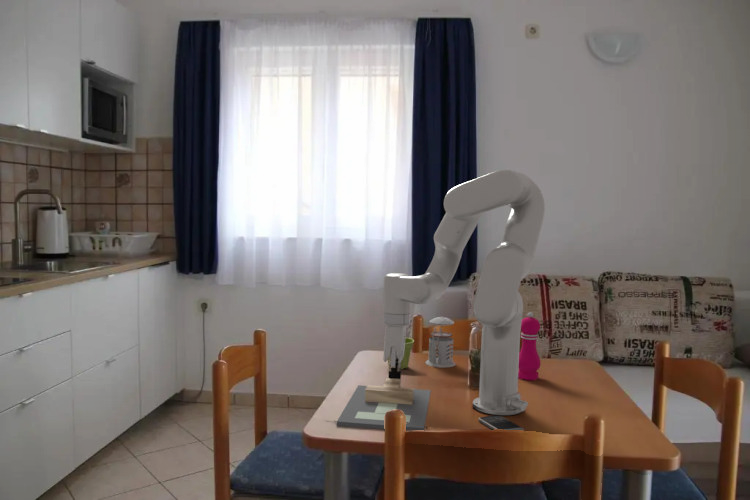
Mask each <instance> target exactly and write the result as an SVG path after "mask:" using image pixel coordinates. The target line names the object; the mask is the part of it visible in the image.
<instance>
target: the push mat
mask: <svg viewBox="0 0 750 500" xmlns="http://www.w3.org/2000/svg"><path fill="white" fill-rule="evenodd" d="M366 387H367V385H361V384H360V385H357V387H356V389H355V390H354V392H353V393H352V395H351V397H350V399H349V400H348V402H347V403H346V406H345V407H344V408H343V410H342V412H341V414H340V415H339V417H338V419H337V420H336V426H337V427H346V428H348V427H349V428H360V429H361V428H362V429H363V428H364V429H375V430H385V429H384V416H385V413H386V412H387V411H390V410H393V409H399V410H402V411H403V412H404V414H405V416H406V423H407V424H406V430H424V431H425V429H426V426H425V425H426V420H427V414H428V409H429V403H430V397H431V390H430V389H419V388H414V394H413V403H412V405H410V404H396V403H382V402H368V401H365V389H366Z"/></svg>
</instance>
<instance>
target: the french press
mask: <svg viewBox="0 0 750 500" xmlns="http://www.w3.org/2000/svg"><path fill="white" fill-rule="evenodd" d="M441 304H442V306H441V316H438V317H434V318H432V319H430V320H429V323H430V324H431V325H435V326H441V328H439V331H437V327H435V328H434V329H433V332H430V337H429V339H428V340H429V341H428V342H429V343H428V346H429V347H428V359H427V360H426V361H425V364H426V366H430V367H433V368H451V367H455V366H456V363H455V362H454V361H453V357H454V355H453V354H454V338H453V337H452V336H453V334H452V333H451V332H446V331H443V326H451V325H454V324H455V321H453V319H450V318H449V317H444V315H443V313H444V298H442V302H441Z"/></svg>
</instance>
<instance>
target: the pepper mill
mask: <svg viewBox="0 0 750 500" xmlns="http://www.w3.org/2000/svg"><path fill="white" fill-rule="evenodd" d="M540 330H541V324H540V321H539V320H538V319H537V318H535V317H534V313H533V312H531V311H530V312H528V313H527V317H526V316H525V317H524V318H522V323H521V331H520V339H521V340H522V342H521V343H522V344H521V348H520V350H519V367H518V379H520V380H523V379H525V380H524V381H537V380H538V379H539V372H538V370H539V369H540V368H541V359H540V356H539V352H538V350H537V340H538V339H539V334H538V332H539V331H540ZM536 379H537V380H536Z"/></svg>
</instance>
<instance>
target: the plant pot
mask: <svg viewBox="0 0 750 500" xmlns="http://www.w3.org/2000/svg"><path fill="white" fill-rule="evenodd" d="M383 341H385V338H384V340H383ZM413 343H415V340H414V338H410V337H405V351H404V357H403V359H402V361H401V368H400V370H403V369H407V368H409V364H410V363H409V361H410V356H411V352H412V347H413V345H414V344H413ZM387 363H388V364H387V365H388V366H389V359H388V360H387Z"/></svg>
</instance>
